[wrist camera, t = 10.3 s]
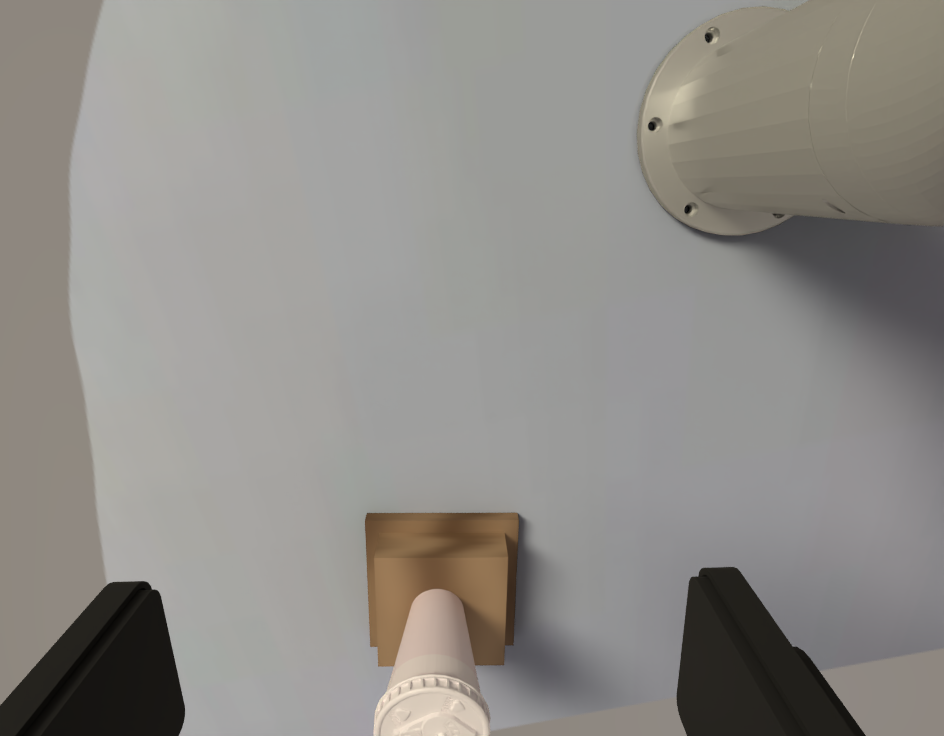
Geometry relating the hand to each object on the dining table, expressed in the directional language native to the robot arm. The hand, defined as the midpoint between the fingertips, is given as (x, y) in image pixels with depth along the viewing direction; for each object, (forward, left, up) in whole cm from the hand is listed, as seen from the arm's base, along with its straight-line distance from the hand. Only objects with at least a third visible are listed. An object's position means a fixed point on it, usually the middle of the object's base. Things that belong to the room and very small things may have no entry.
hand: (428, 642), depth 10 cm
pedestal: (0, +21, -30) cm, 36 cm away
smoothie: (+1, +21, -26) cm, 33 cm away
